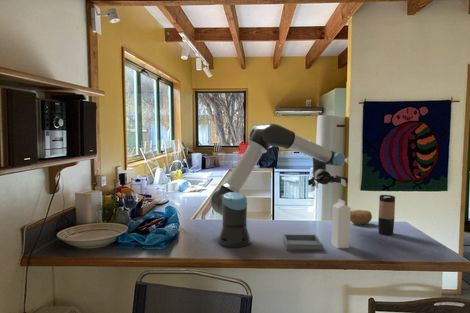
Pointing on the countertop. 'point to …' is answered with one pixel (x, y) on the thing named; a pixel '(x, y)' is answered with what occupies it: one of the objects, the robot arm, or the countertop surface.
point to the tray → (302, 242)
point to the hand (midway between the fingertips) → (331, 184)
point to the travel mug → (386, 214)
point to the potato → (360, 216)
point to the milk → (340, 225)
